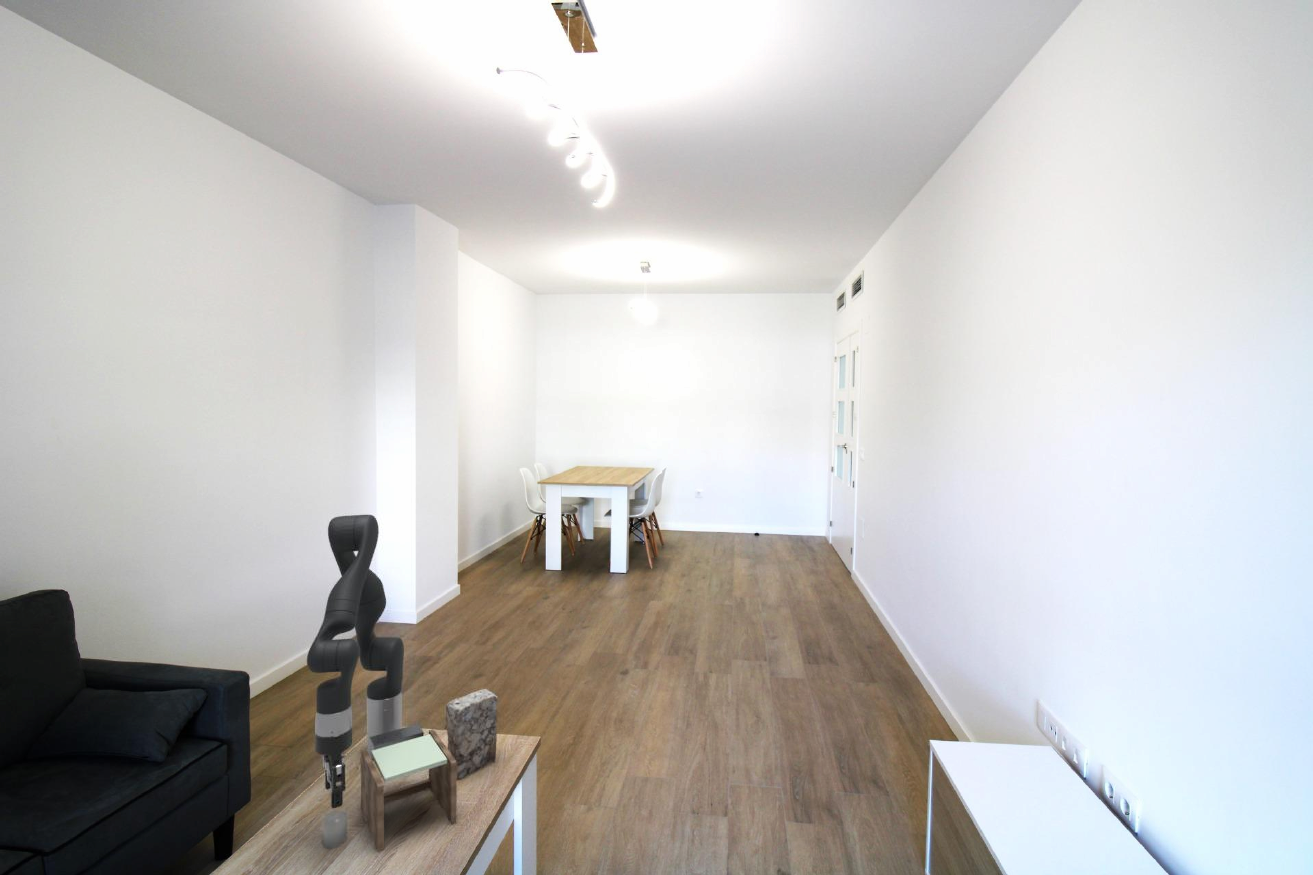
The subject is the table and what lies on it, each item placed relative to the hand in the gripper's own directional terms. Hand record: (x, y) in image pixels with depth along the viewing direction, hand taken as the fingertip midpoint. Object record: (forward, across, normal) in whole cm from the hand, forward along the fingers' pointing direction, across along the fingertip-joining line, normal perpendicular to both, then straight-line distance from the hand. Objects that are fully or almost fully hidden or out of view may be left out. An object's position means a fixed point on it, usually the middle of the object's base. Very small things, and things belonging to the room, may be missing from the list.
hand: (333, 796), depth 143 cm
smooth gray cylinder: (+10, 0, 0) cm, 11 cm away
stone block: (+10, -11, +36) cm, 39 cm away
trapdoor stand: (+10, +1, +16) cm, 19 cm away
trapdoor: (-2, -3, +16) cm, 17 cm away
